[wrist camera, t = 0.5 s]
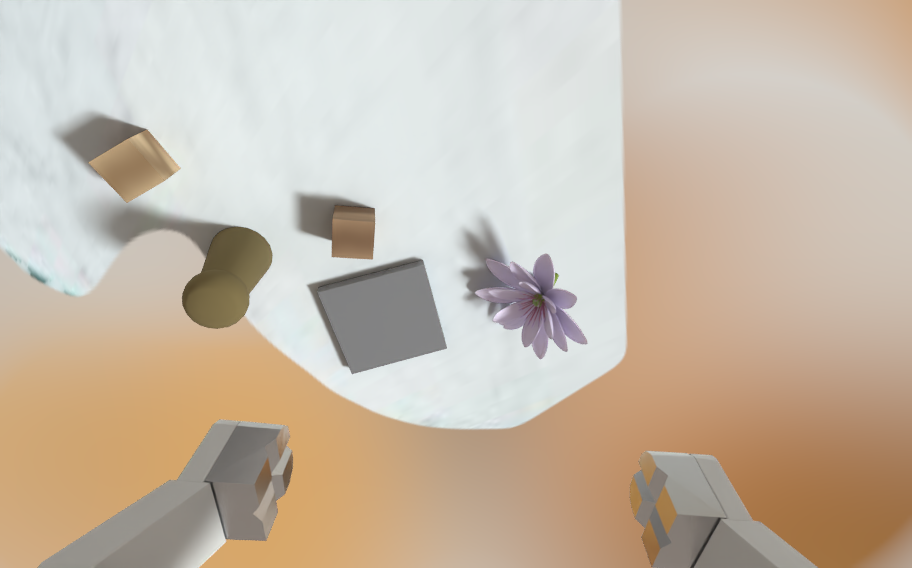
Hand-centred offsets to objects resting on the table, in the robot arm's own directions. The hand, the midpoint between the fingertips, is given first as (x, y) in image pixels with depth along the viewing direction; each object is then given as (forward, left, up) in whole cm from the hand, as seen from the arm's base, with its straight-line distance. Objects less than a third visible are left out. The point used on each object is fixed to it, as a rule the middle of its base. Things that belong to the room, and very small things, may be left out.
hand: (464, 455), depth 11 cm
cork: (+9, -18, -39) cm, 44 cm away
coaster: (+21, -6, -39) cm, 45 cm away
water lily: (+21, +10, -40) cm, 46 cm away
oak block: (-2, -22, -39) cm, 45 cm away
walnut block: (+9, -6, -39) cm, 41 cm away
